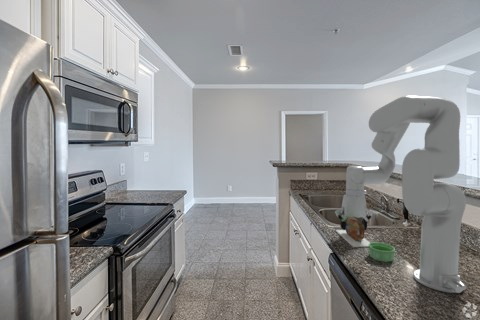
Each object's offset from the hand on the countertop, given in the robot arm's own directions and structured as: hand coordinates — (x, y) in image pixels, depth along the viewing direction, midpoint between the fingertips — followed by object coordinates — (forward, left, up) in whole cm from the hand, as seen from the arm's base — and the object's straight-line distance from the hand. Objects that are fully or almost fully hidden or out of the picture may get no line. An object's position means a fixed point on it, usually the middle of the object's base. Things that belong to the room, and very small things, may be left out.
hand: (353, 229), depth 119 cm
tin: (0, 0, -4) cm, 4 cm away
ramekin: (-20, -2, -5) cm, 21 cm away
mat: (0, 0, -4) cm, 4 cm away
